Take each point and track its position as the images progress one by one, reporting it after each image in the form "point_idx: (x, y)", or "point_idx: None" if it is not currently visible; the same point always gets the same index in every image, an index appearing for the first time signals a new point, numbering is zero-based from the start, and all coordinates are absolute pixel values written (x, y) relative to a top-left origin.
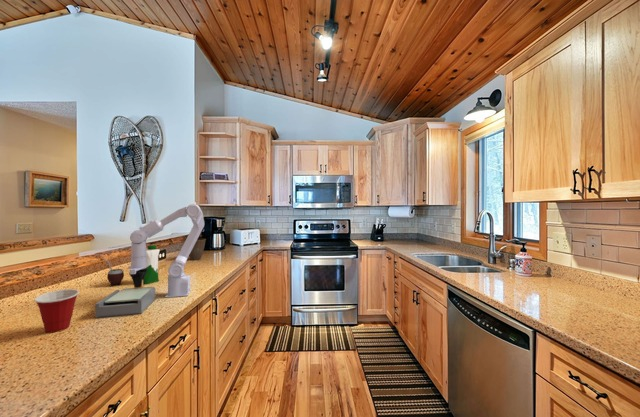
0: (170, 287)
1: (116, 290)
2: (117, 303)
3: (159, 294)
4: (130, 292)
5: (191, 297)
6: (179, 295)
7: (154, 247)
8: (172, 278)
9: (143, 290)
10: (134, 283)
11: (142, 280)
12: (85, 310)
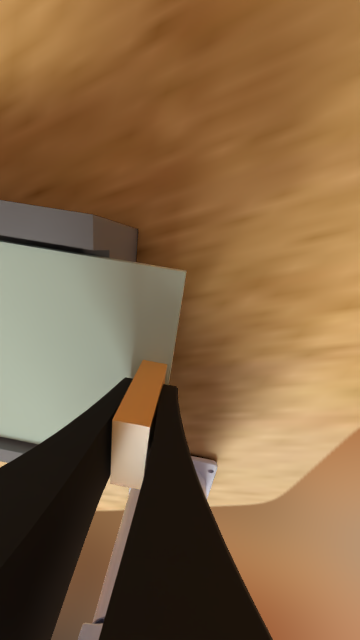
0: (127, 516)
1: (77, 221)
2: (80, 251)
3: (207, 425)
4: (33, 350)
5: (109, 506)
6: (129, 488)
7: None
8: (94, 616)
9: (69, 420)
10: (99, 404)
11: (122, 482)
12: (9, 34)
